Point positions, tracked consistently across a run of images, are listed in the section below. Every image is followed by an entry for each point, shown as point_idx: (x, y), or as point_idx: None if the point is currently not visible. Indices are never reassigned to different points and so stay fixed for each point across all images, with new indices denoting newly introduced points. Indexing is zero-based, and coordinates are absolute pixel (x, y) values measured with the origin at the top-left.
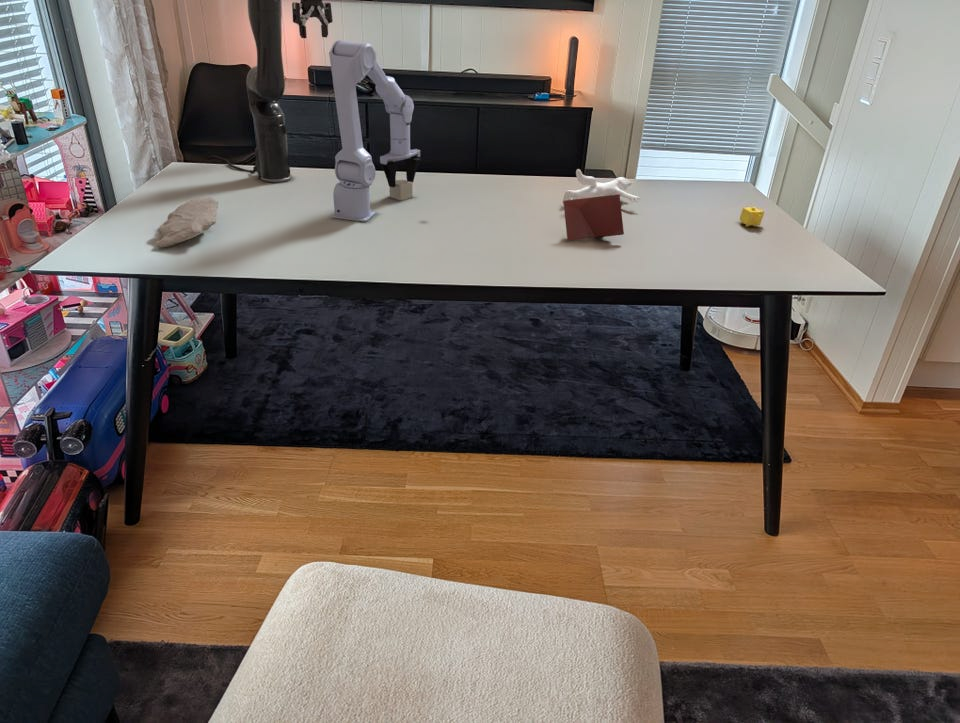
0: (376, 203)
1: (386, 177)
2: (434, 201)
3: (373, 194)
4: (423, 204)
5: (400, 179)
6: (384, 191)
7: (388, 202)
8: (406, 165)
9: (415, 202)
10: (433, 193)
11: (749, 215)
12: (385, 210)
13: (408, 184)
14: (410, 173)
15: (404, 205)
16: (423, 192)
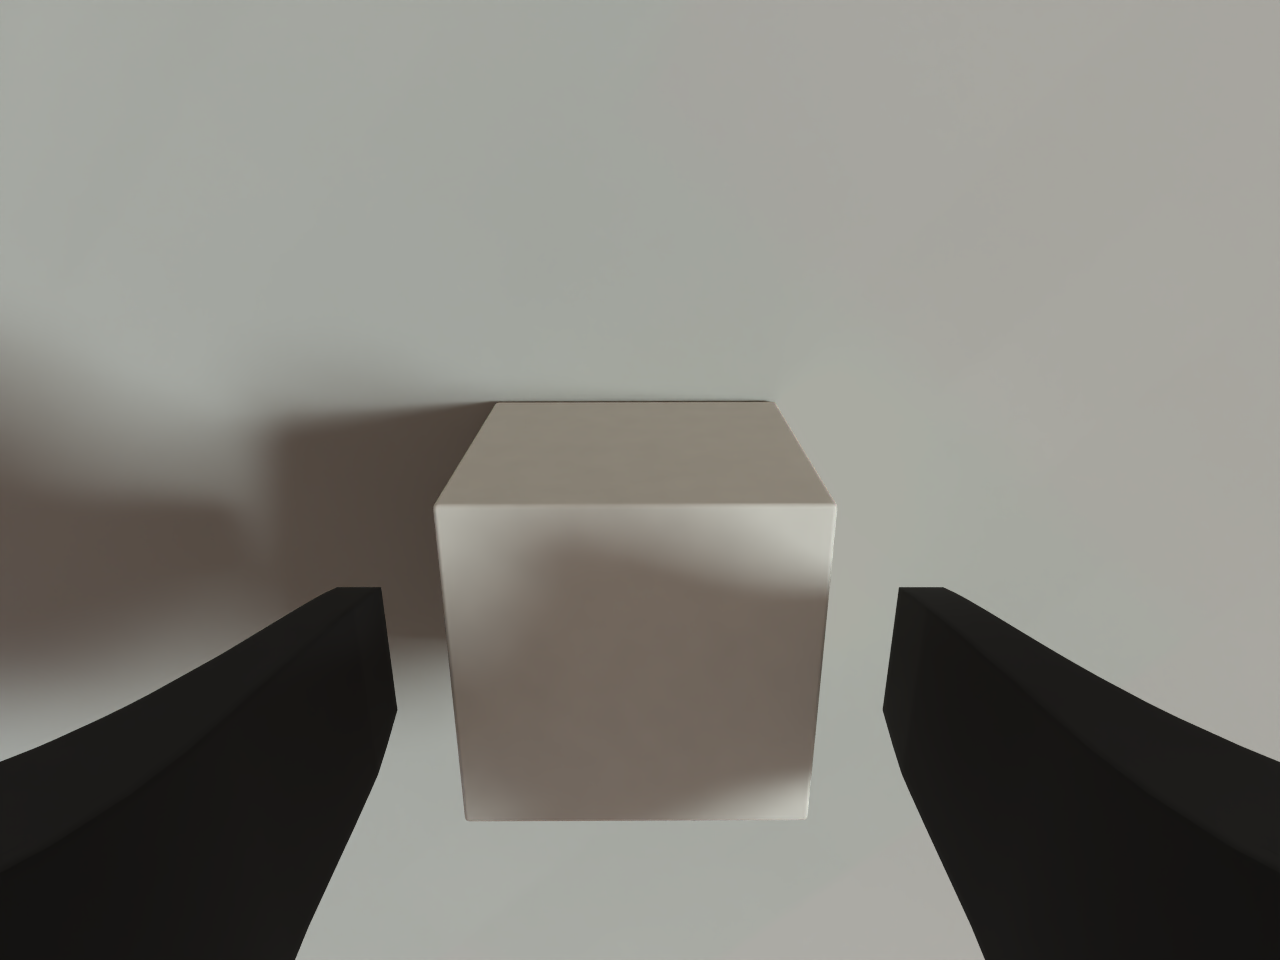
0: (110, 514)
1: (194, 675)
2: (840, 906)
3: (347, 65)
4: (640, 904)
5: (789, 526)
6: (658, 51)
7: (303, 589)
8: (1113, 840)
9: None
10: (1149, 688)
11: None
12: None
13: (688, 804)
14: (972, 813)
15: (413, 803)
16: (1099, 565)
